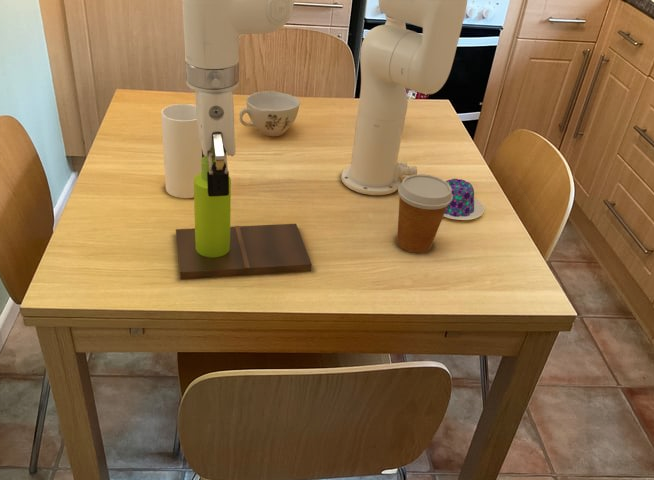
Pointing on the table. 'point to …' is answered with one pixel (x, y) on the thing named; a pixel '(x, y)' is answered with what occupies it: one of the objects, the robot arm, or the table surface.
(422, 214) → the disposable coffee cup
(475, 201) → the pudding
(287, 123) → the teacup
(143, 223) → the table surface
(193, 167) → the cup
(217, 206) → the soap dispenser
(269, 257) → the walnut board
